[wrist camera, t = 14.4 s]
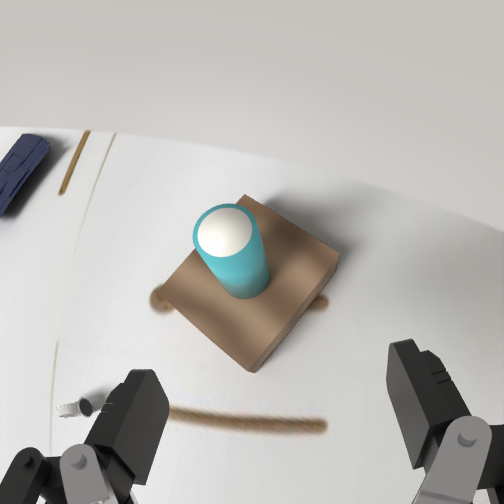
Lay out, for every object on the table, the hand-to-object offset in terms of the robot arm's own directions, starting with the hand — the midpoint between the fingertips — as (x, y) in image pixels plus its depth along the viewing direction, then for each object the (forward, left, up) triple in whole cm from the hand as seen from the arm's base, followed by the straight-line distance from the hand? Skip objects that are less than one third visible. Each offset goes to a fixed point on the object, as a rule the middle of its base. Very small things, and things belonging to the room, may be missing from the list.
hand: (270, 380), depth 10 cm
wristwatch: (+23, -19, -27) cm, 40 cm away
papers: (+10, -78, -27) cm, 83 cm away
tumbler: (-6, -12, -22) cm, 25 cm away
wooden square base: (-6, -12, -27) cm, 30 cm away
